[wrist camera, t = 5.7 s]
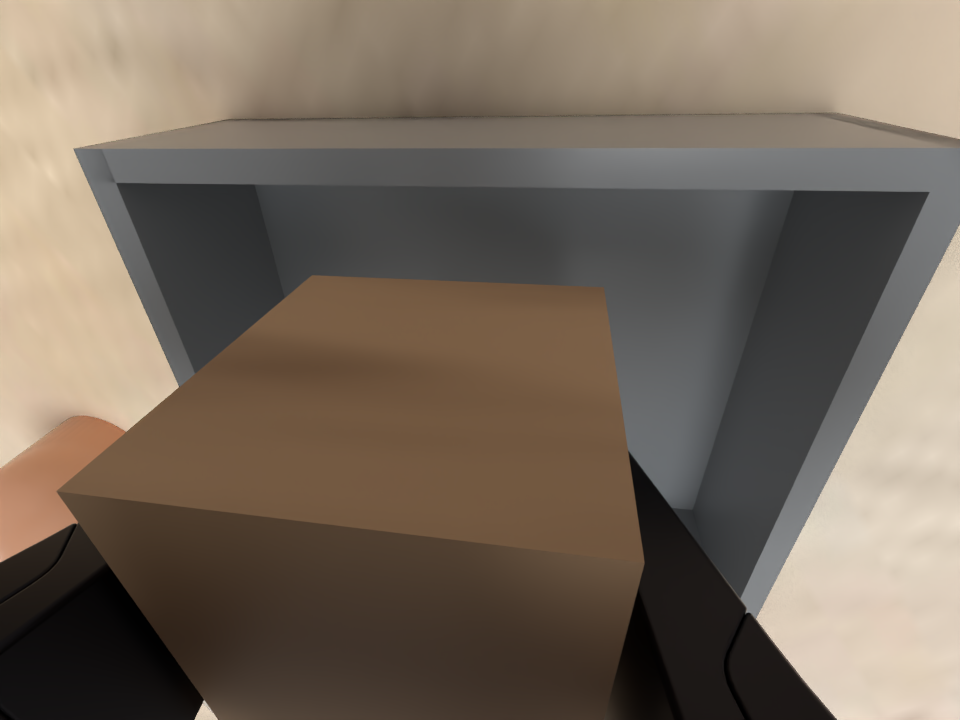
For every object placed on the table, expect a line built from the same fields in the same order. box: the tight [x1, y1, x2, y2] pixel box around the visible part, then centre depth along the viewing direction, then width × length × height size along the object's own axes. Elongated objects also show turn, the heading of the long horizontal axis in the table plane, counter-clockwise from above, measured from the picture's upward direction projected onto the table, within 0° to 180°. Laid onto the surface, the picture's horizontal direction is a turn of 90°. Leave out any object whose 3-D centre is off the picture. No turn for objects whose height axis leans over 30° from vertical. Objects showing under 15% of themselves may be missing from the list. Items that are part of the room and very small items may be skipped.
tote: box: [74, 113, 960, 619], centre depth 15 cm, size 15×17×6 cm
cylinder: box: [0, 416, 126, 562], centre depth 22 cm, size 5×5×7 cm
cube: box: [56, 275, 645, 720], centre depth 7 cm, size 5×5×5 cm
